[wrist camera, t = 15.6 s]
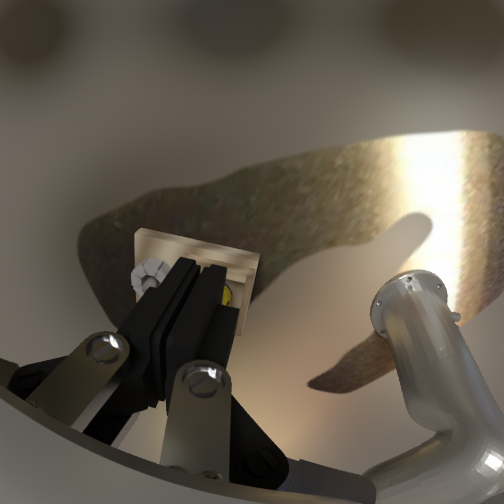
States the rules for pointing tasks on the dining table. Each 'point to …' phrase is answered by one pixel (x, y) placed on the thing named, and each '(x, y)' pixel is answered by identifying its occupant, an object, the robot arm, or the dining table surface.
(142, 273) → the wheel
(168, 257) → the wooden peg tray
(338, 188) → the dining table surface
